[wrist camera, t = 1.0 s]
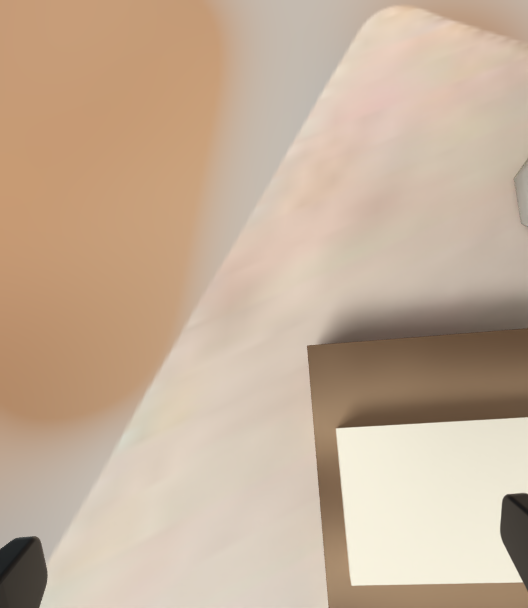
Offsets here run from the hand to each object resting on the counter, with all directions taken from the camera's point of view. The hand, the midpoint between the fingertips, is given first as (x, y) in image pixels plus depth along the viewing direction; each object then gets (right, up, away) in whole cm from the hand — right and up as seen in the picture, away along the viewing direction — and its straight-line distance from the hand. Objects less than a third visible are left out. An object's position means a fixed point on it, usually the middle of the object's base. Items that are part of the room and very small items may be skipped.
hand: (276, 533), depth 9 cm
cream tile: (+7, -4, +11) cm, 14 cm away
